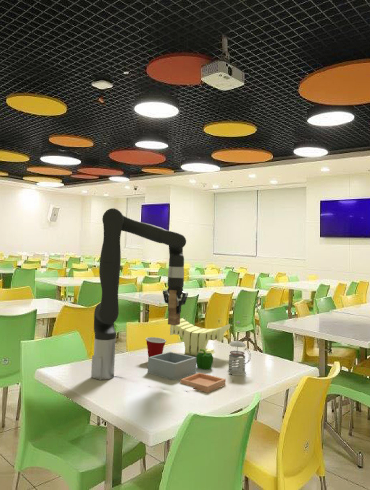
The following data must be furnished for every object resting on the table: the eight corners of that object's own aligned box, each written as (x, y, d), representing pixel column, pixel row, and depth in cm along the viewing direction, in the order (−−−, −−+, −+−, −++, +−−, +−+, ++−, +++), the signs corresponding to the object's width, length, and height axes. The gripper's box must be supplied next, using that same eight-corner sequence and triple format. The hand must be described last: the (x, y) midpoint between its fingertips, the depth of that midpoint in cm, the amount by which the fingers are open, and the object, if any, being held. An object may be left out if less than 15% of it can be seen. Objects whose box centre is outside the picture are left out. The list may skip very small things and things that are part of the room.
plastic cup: (164, 365, 205) (165, 341, 205) (143, 364, 205) (144, 340, 205) (166, 359, 216) (167, 337, 216) (145, 359, 216) (146, 336, 216)
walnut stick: (174, 325, 187) (176, 290, 188) (167, 324, 190) (169, 289, 190) (179, 324, 190) (181, 290, 191) (173, 323, 193) (174, 289, 193)
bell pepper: (215, 369, 202) (216, 349, 202) (208, 373, 195) (208, 352, 195) (200, 366, 206) (201, 346, 206) (192, 370, 199) (193, 349, 199)
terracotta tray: (207, 392, 167) (207, 386, 167) (180, 385, 175) (180, 379, 175) (225, 384, 178) (225, 379, 178) (199, 378, 186) (199, 372, 186)
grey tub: (174, 382, 178) (175, 364, 179) (147, 374, 188) (148, 357, 188) (195, 374, 191) (196, 357, 191) (169, 367, 201) (170, 351, 201)
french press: (231, 368, 204) (233, 318, 205) (253, 372, 198) (255, 321, 199) (222, 373, 196) (224, 320, 196) (245, 377, 190) (247, 323, 190)
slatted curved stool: (169, 353, 231) (170, 321, 231) (181, 347, 245) (182, 318, 245) (219, 361, 218) (220, 327, 218) (228, 354, 232) (230, 323, 233)
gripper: (159, 275, 192) (157, 312, 191) (183, 277, 183) (181, 316, 183) (169, 275, 198) (167, 310, 197) (192, 277, 189) (191, 314, 189)
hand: (174, 313), depth 190 cm, fingers closed on walnut stick, 4 cm apart
